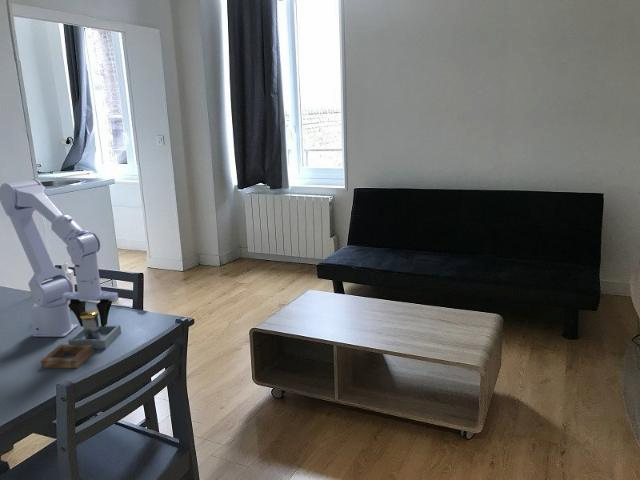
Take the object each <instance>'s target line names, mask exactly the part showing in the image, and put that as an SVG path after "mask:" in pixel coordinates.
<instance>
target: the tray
mask: <svg viewBox="0 0 640 480" xmlns="http://www.w3.org/2000/svg"><path fill="white" fill-rule="evenodd" d="M99 327H100V333H101V339H85V334H84V329H83V327H81V329H79V331H77V332H76V333H75V334H73V336H71V337H70V338H69V339H68V340H67V341H68V342H67V343H68V345H93V348H94V350H107V349H108V348H109V347H110V345H112V344H113V342H115V340H116V339H118V337H119V336H120V335H121V334H122V329H121V328H122V327H121V325H120V324H119V325H118V324H117V325H116V324H115V325H111V324H109V325H107V324H106V325H105V326H104V327H102V326H101V324H99Z"/></svg>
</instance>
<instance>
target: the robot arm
mask: <svg viewBox="0 0 640 480" xmlns="http://www.w3.org/2000/svg"><path fill="white" fill-rule="evenodd" d="M46 190H47V189H46V187H45V186H44V185H43V183H42V182H41V181H40V180H39V179H36V178H32V179H29V180H22V181H15V182H5V183H3V184H1V185H0V203H1V205H2V208H3V210H4V213H5V215H6V216H8V217H9V219H10V222H11V223H12V227H13V229H14V230H15V233H16V235H17V237H18V239H19V241H20V244H21V247H22V249H23V251H24V253H25V255H26V258H27V260H28V262H29V264H30V267H31V269H32V272H33V276H32V277H31V279H30V280H29V281H28V287H29V290H30V297H31V299H32V301H33V303H34V304H33V305H32V307H31V311H30V317H31V323H32V329H33V334H32V337H36V338H37V337H38V338H39V337H42V338H43V337H44V338H45V337H46V338H47V337H50V338H51V337H52V338H53V337H54V338H55V337H58V338H60V337H61V338H65V337H66V336H67V335H68V334H70V333H71V332H72V331H74V330H75V329H76V328H77V327H78V326H79V325H80V327H81V328H83V323H82V319H81V318H80V314H81V313H82V312H85V311H86V304H87V303H86V302H90V301H92V302H93V301H96V302H97V301H98V303H96V304H95V307H96V309H97V311H98V313H99V315H98V316H99V320H100V322H99V323H100V325H101V326H102V327H104V326H105V325H107V324H108V318H109V315H110V314H109V313H110V310H111V307H112V304H113V303H116V302H117V301H118V300H119V294H118V292H114V291H107V290H102V288H101V287H102V286H101V279H100V273H99V271H100V270H99V264H98V256H97V255H98V254H97V253H98V252H99V251H100V250H101V240H100V239H99V236H97V234H96V233H95V232H93V231H88V230H87V229H84V228H83V227H82V226H81V225H80V224H78V223H77V222H76V221H75V220H74V218H73V217H72V216H71V215H68V214H62V212H61V211H60V210H59V209H58V207H57V206H56V205H55V204H54V203H53V202H52V201H51V199H50V198H49V197H48V196H47V191H46ZM35 211H37V212H38V213H39V214H40V215H41V216H43V217H44V218H45V219H46V220H47V221H48V222H50V224H51V230H52V231H53V233H54V234H56V236H57V237H58V238H59V239H60V240H61V241H62V242H63V243H64V244H65V245H66V247H65V249H66V251H67V253H68V255H69V256H70V261H71V263H72V265H74V275H75V281H76V288H77V291H75V292H73V284H72V282H71V280H70V279H69V278H68V277H67V276H66V274H65V272H64V271H63V270H62V268H59V267H55V265H54V263H53V262H52V261H53V260H52V259H51V257H50V254H49V252H48V249H47V248H46V245H45V243H44V241H43V238H42V236H41V234H40V232H39V229H38V227H37V225H36V222H35V220H34V218H33V214H34V212H35ZM68 301H70V304H68ZM69 308H70V309H71V310H69ZM70 311H71V312H73V314H74V315H75V317H76V319H77V321H78V323H79V324H77V323H72V319H71V313H70Z"/></svg>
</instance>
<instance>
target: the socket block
mask: <svg viewBox="0 0 640 480" xmlns="http://www.w3.org/2000/svg"><path fill="white" fill-rule="evenodd" d="M94 352H95V349H94V348H93V345H69V344H62V343H61V344H58V346H56V347H55V348H54V349H53V350H52V351H51V352H49V353H48V354H47V355H46V356H45V357H43V358H42V359H41V360H40V364H41V368H43V369H78V368H80V366H81V365H82V364H83V363H85V361H86V360H87V359H89V358H90V356H91V355H92V354H93V353H94ZM63 355H75V356H74V357H63Z"/></svg>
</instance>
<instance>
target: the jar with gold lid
mask: <svg viewBox="0 0 640 480" xmlns="http://www.w3.org/2000/svg"><path fill="white" fill-rule="evenodd" d="M99 316H100V315H99V311H98V309H97V310H96V309H89V310H85V312H82V313H81V314H80V318H81V319H82V323H83V327H82V328H83V329H84V334H85V339H101V333H100V327H99V325H100V322H99Z"/></svg>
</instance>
